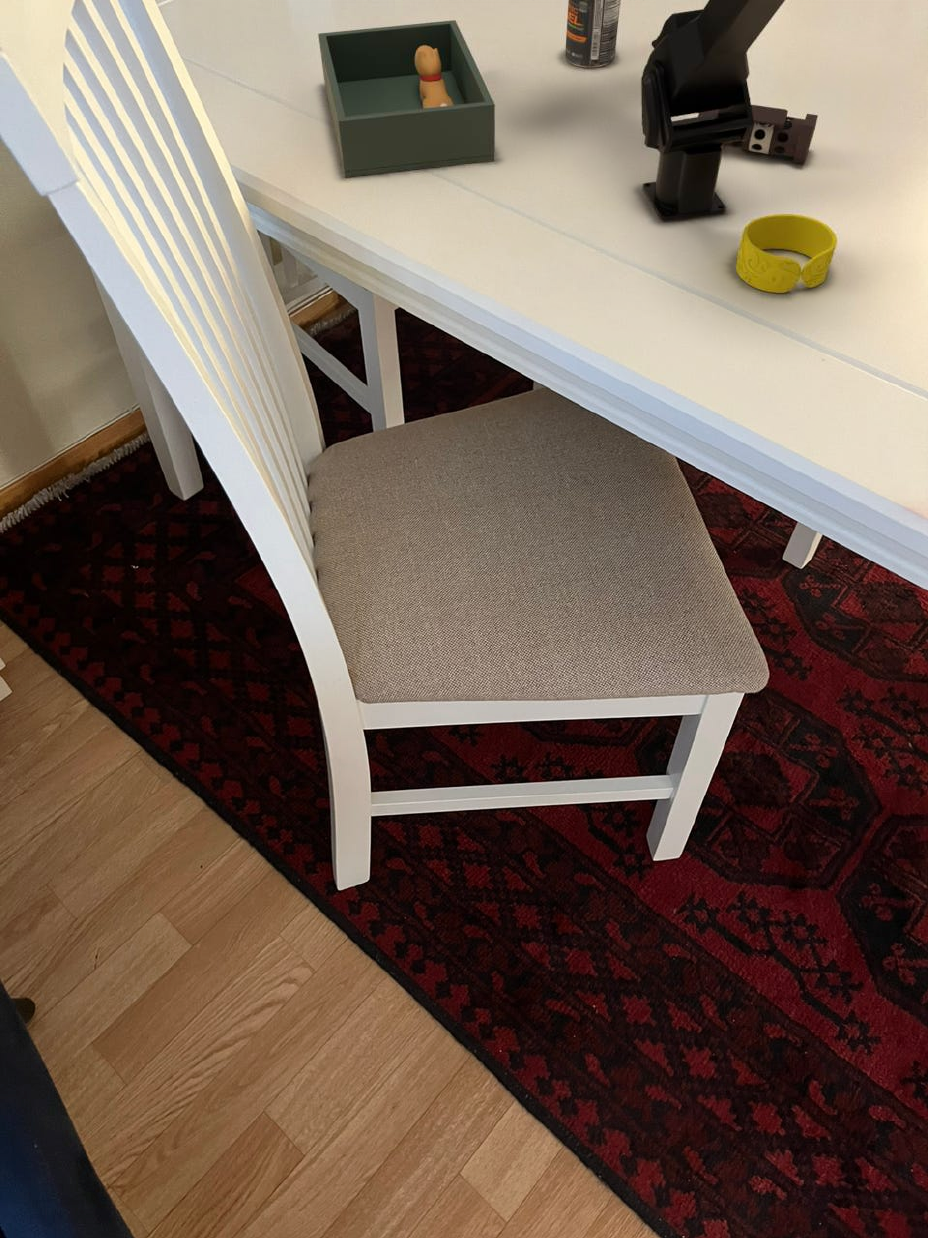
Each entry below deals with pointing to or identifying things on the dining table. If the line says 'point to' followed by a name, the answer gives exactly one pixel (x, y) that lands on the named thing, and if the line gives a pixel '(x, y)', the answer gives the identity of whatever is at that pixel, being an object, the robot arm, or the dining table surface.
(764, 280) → the bracelet
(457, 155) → the green storage tray
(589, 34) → the pill bottle
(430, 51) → the toy
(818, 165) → the dining table surface
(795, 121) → the brown bracket with holes
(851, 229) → the dining table surface
